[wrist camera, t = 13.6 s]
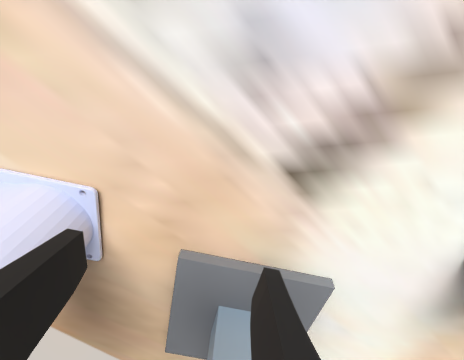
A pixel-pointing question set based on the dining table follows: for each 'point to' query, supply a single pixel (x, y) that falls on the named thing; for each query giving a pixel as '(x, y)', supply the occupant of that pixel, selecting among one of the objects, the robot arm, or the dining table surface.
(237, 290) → the rubber mat
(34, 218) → the robot arm
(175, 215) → the dining table surface
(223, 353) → the slate cube
